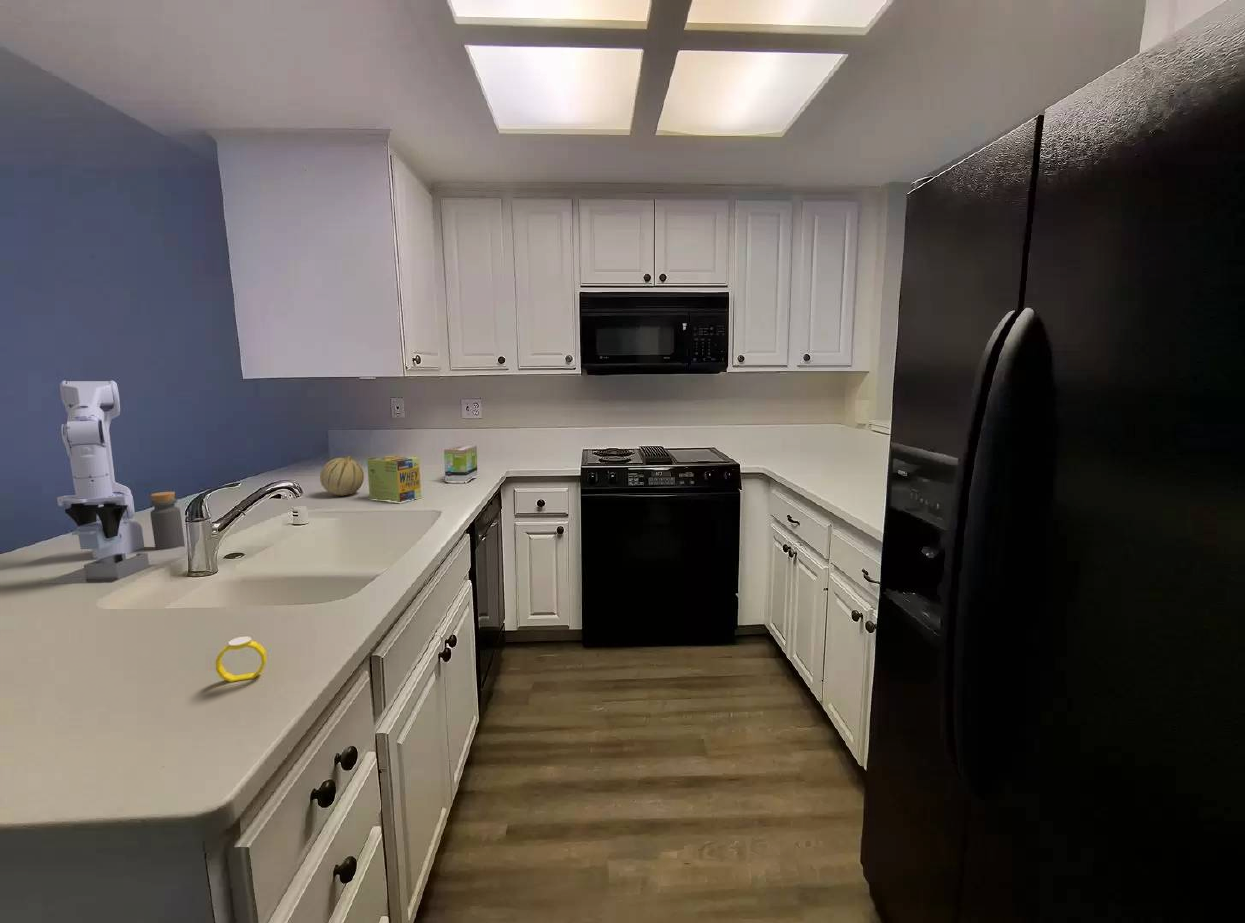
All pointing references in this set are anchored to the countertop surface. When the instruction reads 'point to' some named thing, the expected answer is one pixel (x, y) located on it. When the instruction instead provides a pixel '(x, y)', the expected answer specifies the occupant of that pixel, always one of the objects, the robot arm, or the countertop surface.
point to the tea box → (460, 463)
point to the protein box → (394, 478)
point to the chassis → (106, 569)
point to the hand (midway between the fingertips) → (101, 537)
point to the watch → (239, 644)
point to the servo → (95, 536)
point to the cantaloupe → (342, 476)
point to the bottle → (166, 521)
